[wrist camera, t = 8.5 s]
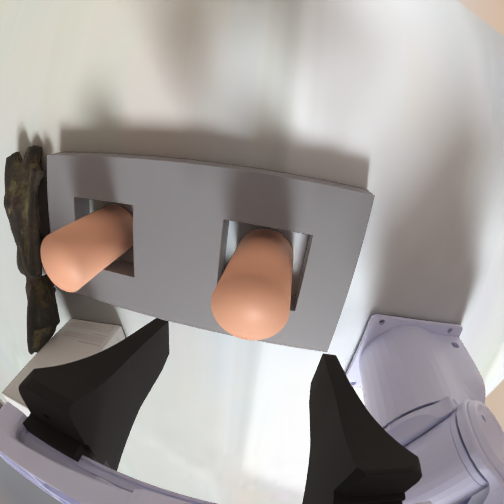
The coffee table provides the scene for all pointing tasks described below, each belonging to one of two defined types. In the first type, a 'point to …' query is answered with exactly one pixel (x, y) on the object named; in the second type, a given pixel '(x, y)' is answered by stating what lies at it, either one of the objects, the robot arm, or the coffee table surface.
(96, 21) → the coffee table surface
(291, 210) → the pegboard
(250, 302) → the pin
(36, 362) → the supplement box
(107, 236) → the pin
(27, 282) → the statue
